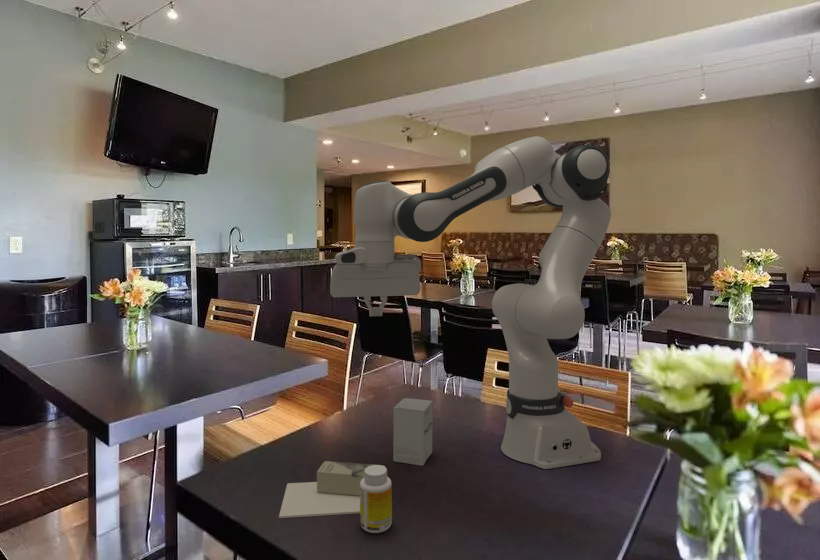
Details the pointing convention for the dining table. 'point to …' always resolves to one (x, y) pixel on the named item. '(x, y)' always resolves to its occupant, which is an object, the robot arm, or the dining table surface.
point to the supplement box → (412, 431)
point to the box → (340, 477)
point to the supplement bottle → (375, 500)
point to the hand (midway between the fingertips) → (375, 315)
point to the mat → (316, 502)
